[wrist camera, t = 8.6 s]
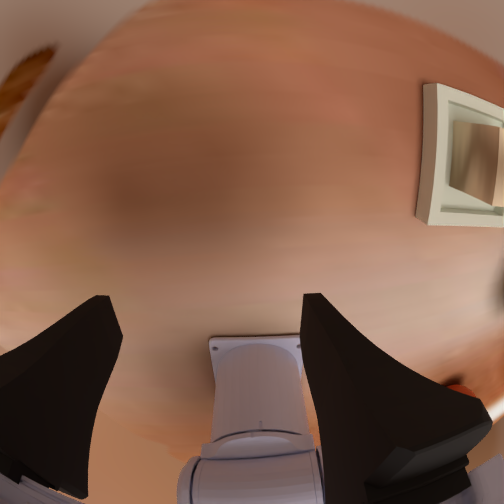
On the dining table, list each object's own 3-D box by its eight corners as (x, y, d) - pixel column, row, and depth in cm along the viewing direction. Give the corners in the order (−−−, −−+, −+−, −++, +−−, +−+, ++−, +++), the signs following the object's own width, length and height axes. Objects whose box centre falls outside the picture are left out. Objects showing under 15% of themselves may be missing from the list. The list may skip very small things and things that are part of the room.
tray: (494, 220, 19) (506, 227, 17) (415, 216, 19) (427, 225, 17) (504, 114, 15) (518, 116, 13) (422, 84, 15) (436, 82, 13)
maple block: (488, 191, 17) (528, 210, 13) (449, 186, 17) (491, 205, 13) (493, 133, 15) (536, 143, 10) (453, 121, 15) (499, 126, 10)
